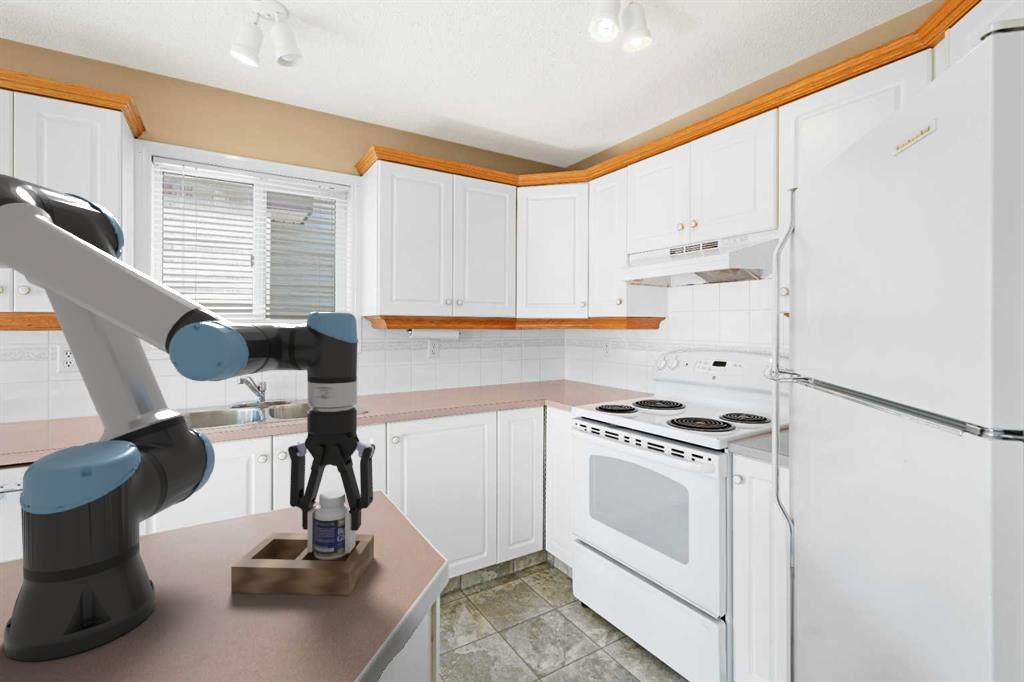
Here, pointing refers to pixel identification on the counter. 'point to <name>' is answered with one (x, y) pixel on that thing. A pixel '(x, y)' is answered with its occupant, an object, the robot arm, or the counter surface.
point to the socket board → (299, 567)
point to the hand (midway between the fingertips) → (331, 548)
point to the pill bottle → (330, 526)
